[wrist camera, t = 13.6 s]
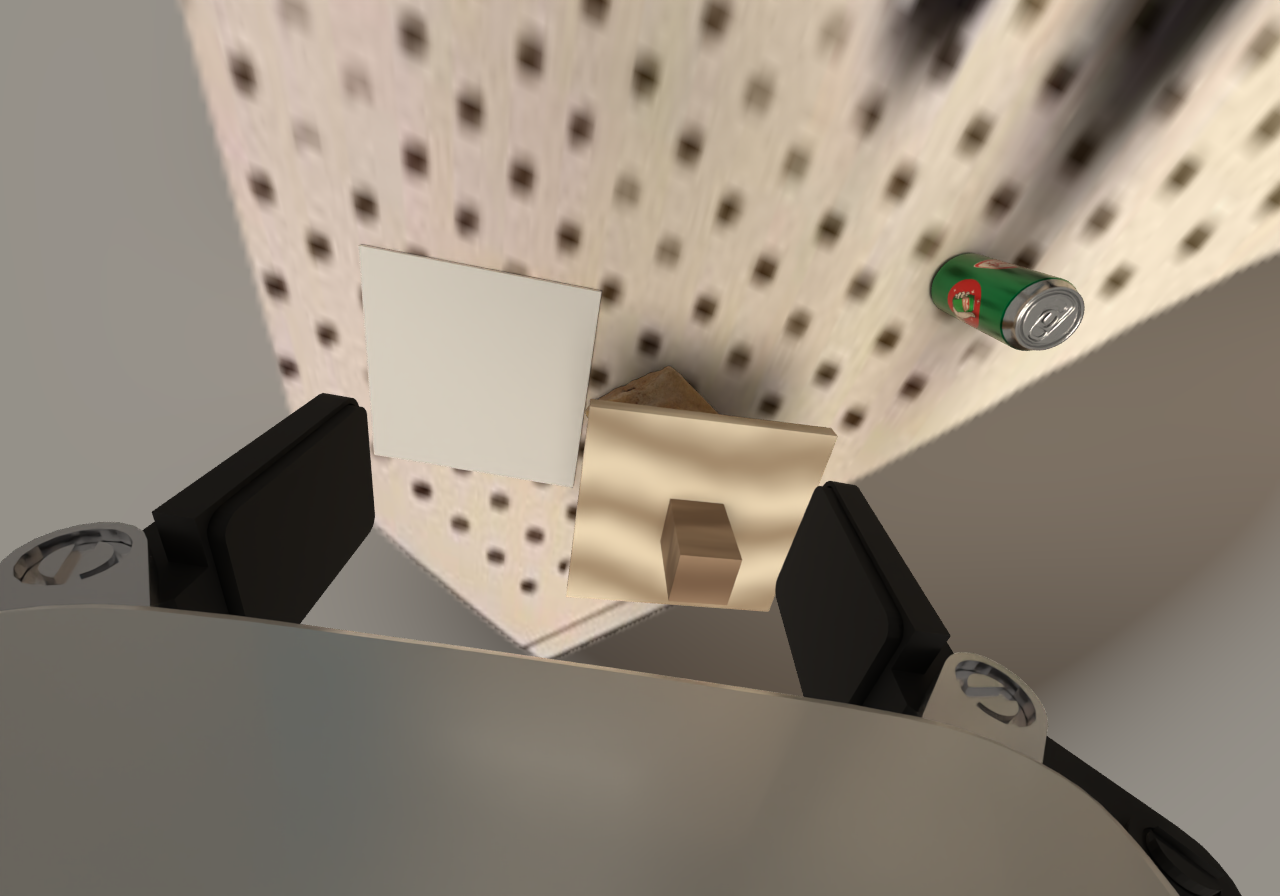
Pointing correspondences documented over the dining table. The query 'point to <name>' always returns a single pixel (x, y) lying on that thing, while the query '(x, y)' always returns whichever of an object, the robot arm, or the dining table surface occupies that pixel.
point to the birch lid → (690, 505)
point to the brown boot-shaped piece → (660, 393)
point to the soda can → (1008, 301)
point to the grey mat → (476, 365)
